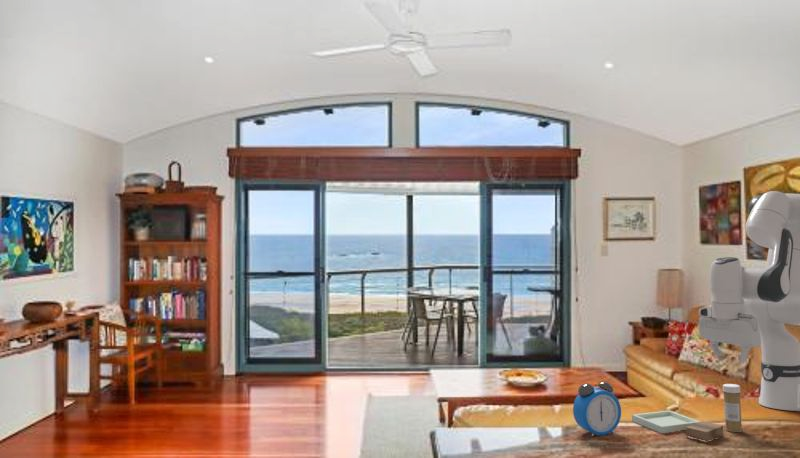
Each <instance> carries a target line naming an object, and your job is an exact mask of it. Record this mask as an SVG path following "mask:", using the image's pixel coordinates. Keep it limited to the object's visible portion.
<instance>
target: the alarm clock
mask: <svg viewBox="0 0 800 458" xmlns="http://www.w3.org/2000/svg"><path fill="white" fill-rule="evenodd" d="M614 391H615V390H614V387H613V385H612V384H610V383H609V381H607V382H606V381H601V382H599V383H597V384H594V385H592V384H590V383H582V384H580V386H579V387H578V389H577V393H578V394H577V396H576V397H575V399H574V403H573V408H572V413H573V418H574V421H575V422H576V424H577V425H578V426H579V427H580V428H581V429H583V430H585V431H587V432H589V433H590V434H591V435H592V434H594V435H595V434H596V436H606V435H609V434H611V435H612V434H613V431H614V430H616V428H617V427H618V425H619V423H620V421H621V418H622V407H621V403H620V401H619V399H618V398H617V397H616V395H615V394H614Z"/></svg>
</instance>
